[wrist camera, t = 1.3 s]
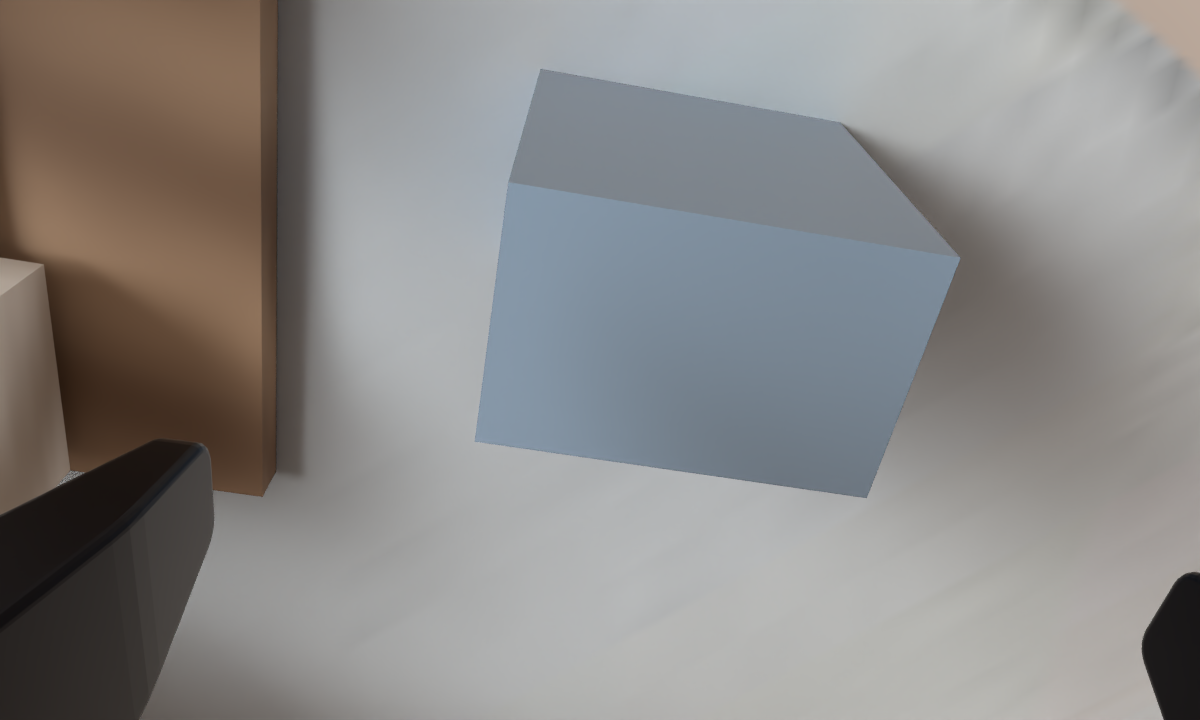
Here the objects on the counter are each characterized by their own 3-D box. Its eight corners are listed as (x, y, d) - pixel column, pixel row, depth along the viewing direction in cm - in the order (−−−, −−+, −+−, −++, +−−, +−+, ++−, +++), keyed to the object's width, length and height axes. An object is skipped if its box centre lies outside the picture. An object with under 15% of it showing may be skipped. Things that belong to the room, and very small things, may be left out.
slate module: (785, 301, 20) (866, 497, 14) (514, 258, 20) (475, 442, 14) (840, 122, 18) (960, 257, 12) (540, 68, 18) (508, 182, 12)
